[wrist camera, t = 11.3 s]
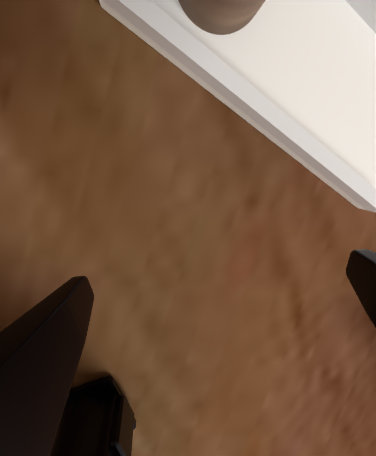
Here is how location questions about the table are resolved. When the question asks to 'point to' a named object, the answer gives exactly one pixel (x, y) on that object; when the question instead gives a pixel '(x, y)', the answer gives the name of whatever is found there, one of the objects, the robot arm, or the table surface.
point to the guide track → (285, 78)
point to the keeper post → (221, 14)
